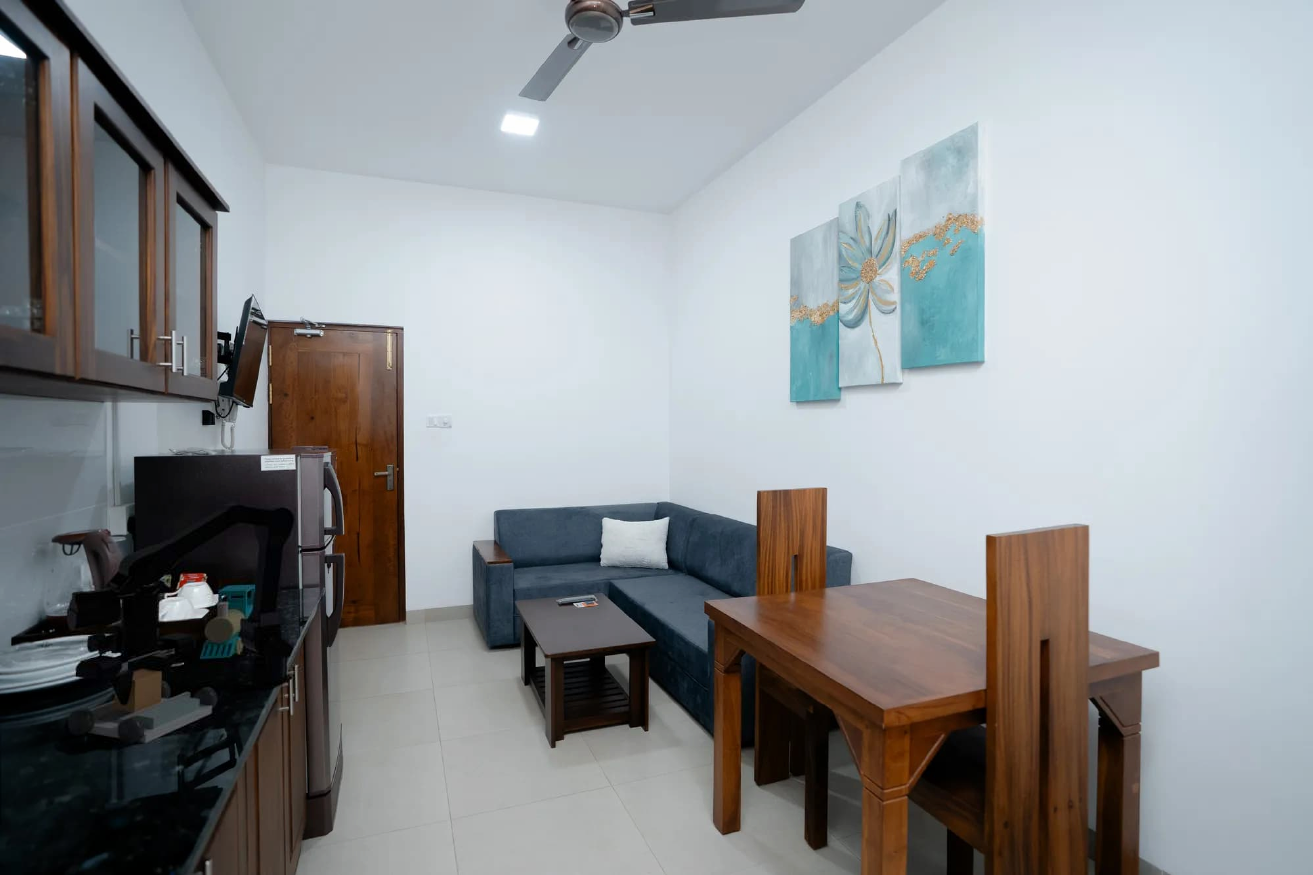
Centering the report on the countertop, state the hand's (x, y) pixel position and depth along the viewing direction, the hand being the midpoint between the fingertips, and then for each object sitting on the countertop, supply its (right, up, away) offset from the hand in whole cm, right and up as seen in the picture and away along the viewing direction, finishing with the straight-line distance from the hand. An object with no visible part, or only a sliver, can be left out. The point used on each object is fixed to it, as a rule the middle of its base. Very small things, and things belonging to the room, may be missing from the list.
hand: (138, 698), depth 124 cm
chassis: (+2, -4, 0) cm, 5 cm away
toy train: (-10, -4, +40) cm, 42 cm away
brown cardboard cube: (0, -1, 0) cm, 1 cm away
